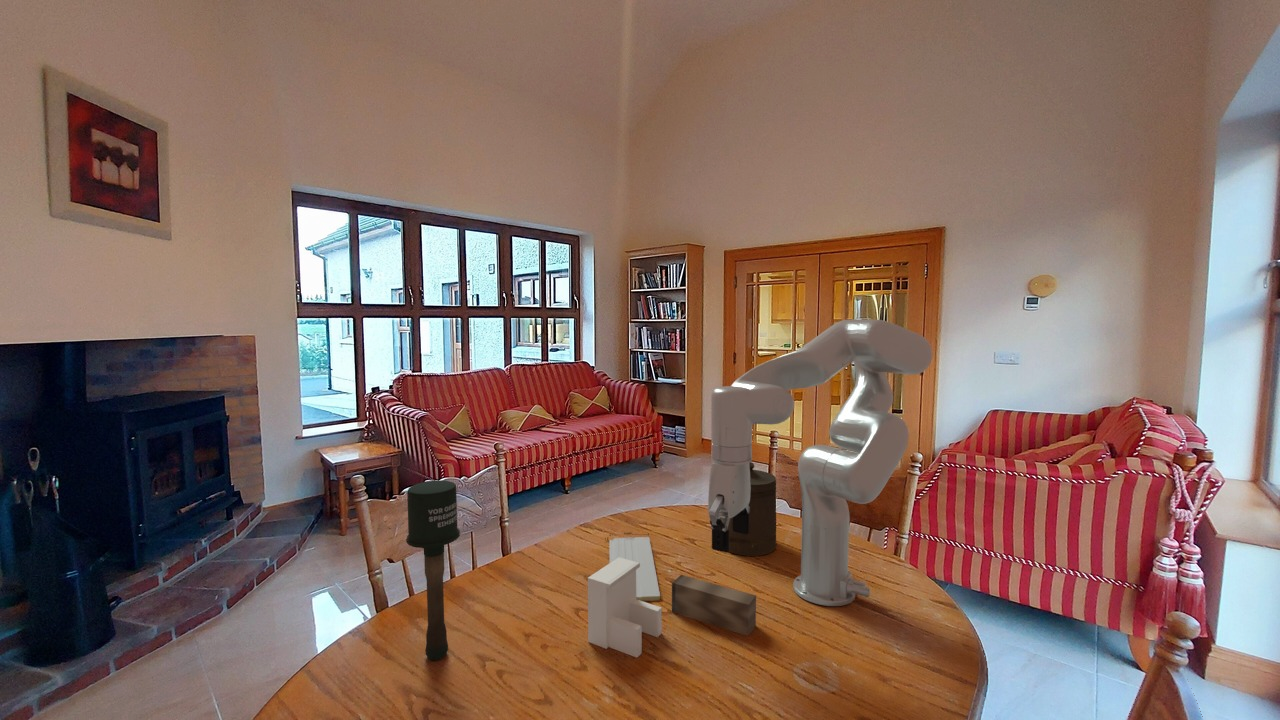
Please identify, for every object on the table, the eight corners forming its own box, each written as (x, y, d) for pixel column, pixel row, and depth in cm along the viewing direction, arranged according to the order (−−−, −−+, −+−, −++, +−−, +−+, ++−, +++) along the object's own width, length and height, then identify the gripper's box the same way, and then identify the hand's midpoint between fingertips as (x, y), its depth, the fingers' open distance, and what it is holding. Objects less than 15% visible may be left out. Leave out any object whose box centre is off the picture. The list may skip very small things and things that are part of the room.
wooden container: (740, 529, 151) (741, 451, 150) (787, 545, 140) (788, 461, 139) (706, 544, 141) (706, 461, 140) (753, 562, 130) (754, 472, 129)
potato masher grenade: (432, 677, 88) (426, 497, 86) (399, 660, 93) (393, 488, 91) (473, 650, 95) (469, 484, 93) (441, 635, 100) (436, 476, 98)
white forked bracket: (663, 631, 101) (663, 569, 100) (634, 659, 93) (634, 592, 92) (619, 616, 106) (618, 557, 106) (588, 641, 98) (587, 577, 97)
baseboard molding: (602, 605, 112) (660, 603, 113) (602, 591, 112) (660, 589, 112) (603, 543, 143) (649, 542, 144) (603, 532, 143) (649, 531, 143)
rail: (755, 625, 103) (756, 595, 103) (748, 636, 100) (748, 604, 99) (681, 602, 112) (681, 574, 111) (671, 611, 108) (671, 582, 108)
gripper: (730, 441, 111) (730, 522, 112) (692, 460, 96) (692, 553, 97) (766, 445, 107) (765, 530, 108) (731, 466, 92) (731, 563, 93)
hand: (731, 541), depth 103 cm, fingers open, 9 cm apart
